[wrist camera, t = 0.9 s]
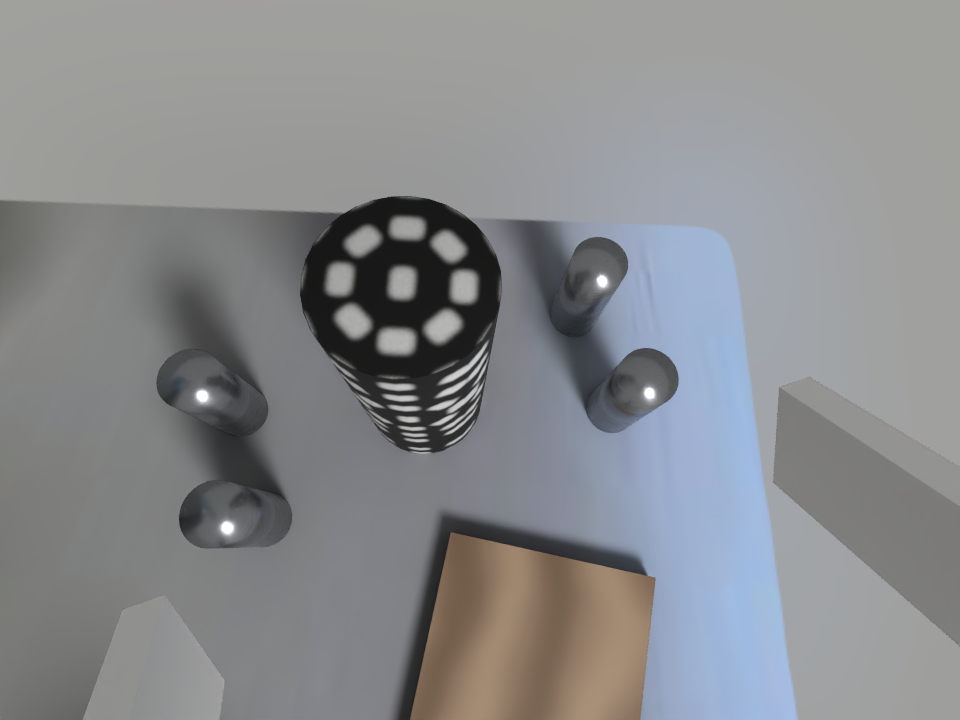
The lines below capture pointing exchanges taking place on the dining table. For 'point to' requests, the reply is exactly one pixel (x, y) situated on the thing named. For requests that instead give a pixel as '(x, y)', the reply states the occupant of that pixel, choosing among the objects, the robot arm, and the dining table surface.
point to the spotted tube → (406, 315)
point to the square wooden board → (533, 638)
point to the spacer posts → (243, 410)
